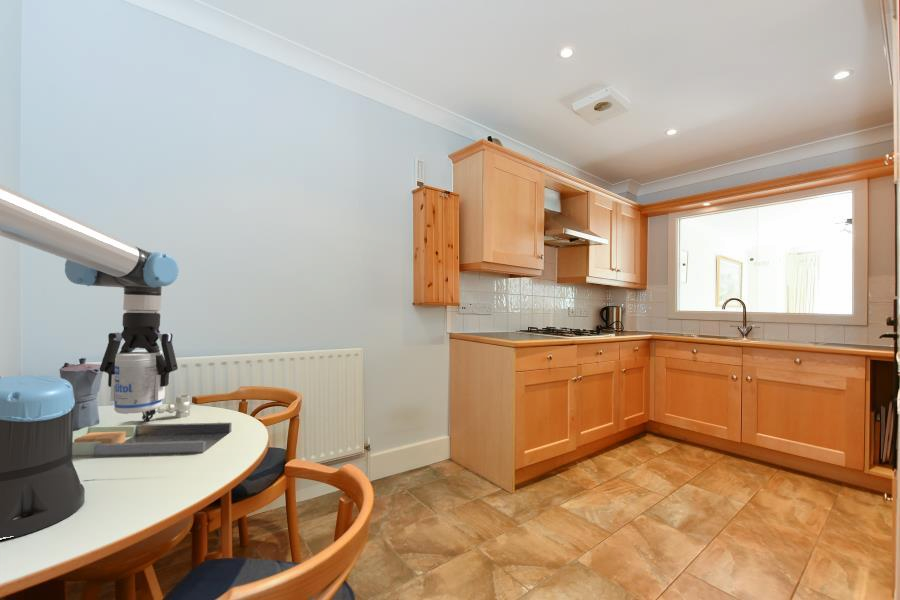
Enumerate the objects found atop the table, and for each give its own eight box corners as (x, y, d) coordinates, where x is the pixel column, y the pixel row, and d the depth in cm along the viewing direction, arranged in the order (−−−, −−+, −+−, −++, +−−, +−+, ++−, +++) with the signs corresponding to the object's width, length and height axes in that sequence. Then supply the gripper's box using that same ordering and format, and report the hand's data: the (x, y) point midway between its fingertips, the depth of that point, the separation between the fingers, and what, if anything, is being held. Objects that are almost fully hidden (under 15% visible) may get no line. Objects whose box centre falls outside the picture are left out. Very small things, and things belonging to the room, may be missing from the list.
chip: (92, 449, 94) (92, 438, 94) (74, 449, 93) (74, 439, 93) (107, 441, 99) (107, 431, 99) (90, 442, 98) (90, 432, 98)
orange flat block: (111, 448, 94) (111, 438, 94) (93, 449, 94) (93, 438, 94) (125, 441, 99) (125, 431, 99) (108, 441, 99) (108, 432, 99)
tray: (97, 455, 90) (97, 443, 90) (40, 457, 89) (41, 444, 89) (136, 436, 104) (136, 425, 104) (87, 437, 102) (87, 426, 102)
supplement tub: (103, 414, 93) (103, 354, 93) (137, 403, 102) (137, 349, 102) (141, 415, 92) (141, 355, 92) (172, 404, 102) (171, 349, 102)
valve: (187, 413, 126) (141, 421, 116) (187, 393, 126) (141, 399, 117) (193, 417, 121) (146, 426, 112) (193, 396, 121) (146, 403, 112)
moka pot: (79, 434, 104) (80, 361, 105) (36, 429, 108) (38, 359, 108) (116, 423, 114) (117, 356, 114) (75, 419, 117) (77, 354, 117)
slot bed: (202, 454, 92) (202, 443, 92) (92, 458, 89) (92, 446, 89) (231, 432, 108) (232, 422, 108) (139, 434, 105) (139, 424, 105)
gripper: (196, 312, 103) (192, 395, 102) (106, 311, 100) (101, 396, 99) (180, 312, 95) (176, 402, 95) (82, 311, 93) (77, 403, 92)
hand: (138, 399), depth 97 cm, fingers closed on supplement tub, 9 cm apart
